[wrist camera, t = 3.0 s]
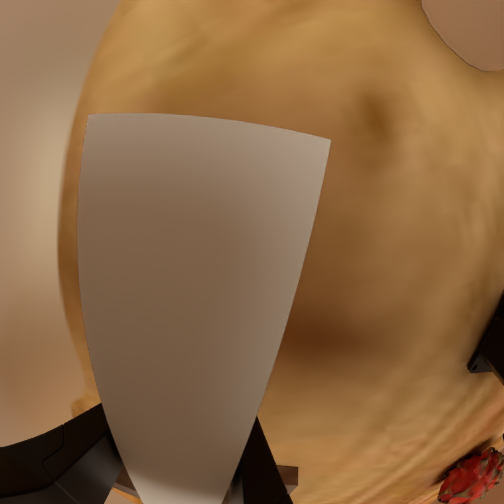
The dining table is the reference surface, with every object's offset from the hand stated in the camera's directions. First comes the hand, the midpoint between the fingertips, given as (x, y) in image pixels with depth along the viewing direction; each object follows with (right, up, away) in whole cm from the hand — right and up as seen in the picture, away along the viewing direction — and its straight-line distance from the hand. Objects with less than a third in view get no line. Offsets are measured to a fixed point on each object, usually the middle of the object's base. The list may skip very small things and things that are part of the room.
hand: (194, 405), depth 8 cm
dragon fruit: (+30, -23, +10) cm, 39 cm away
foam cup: (+14, +18, -1) cm, 23 cm away
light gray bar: (0, 0, +1) cm, 1 cm away
